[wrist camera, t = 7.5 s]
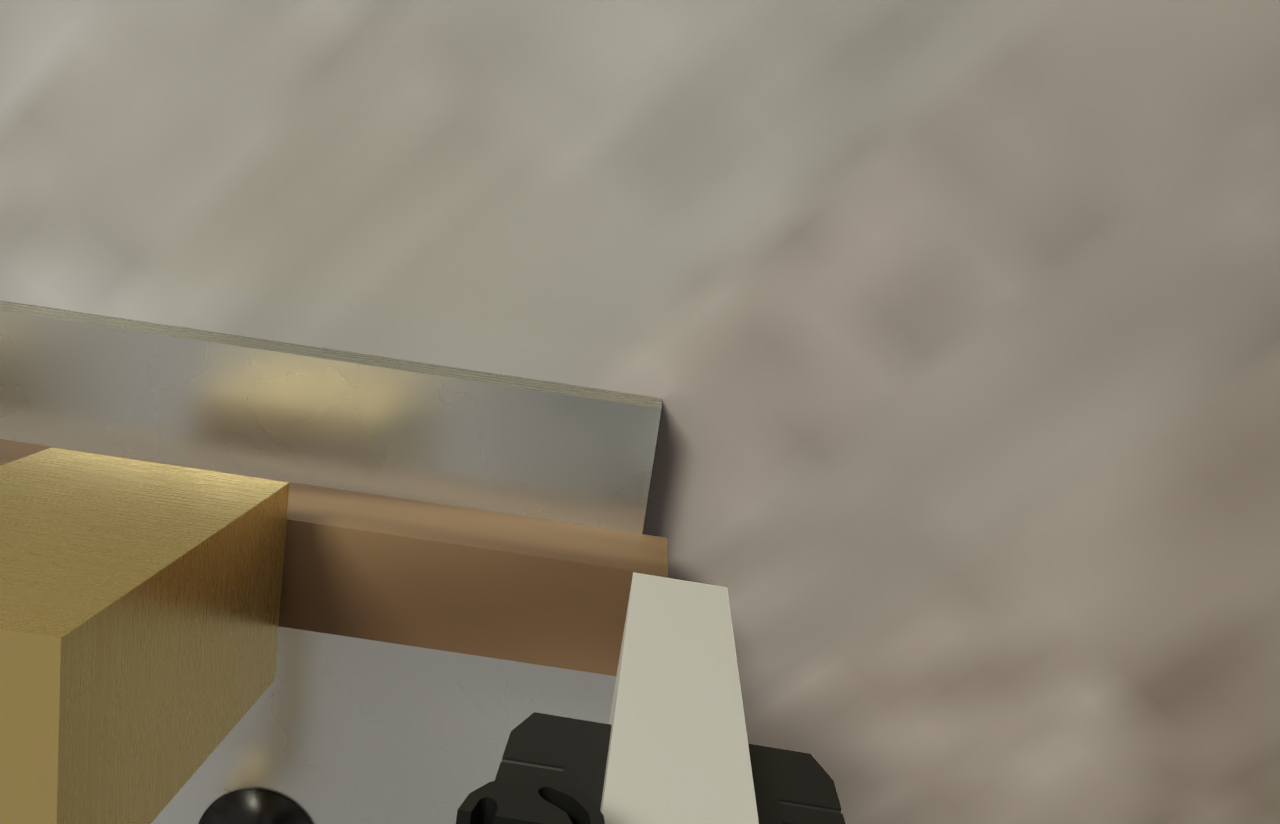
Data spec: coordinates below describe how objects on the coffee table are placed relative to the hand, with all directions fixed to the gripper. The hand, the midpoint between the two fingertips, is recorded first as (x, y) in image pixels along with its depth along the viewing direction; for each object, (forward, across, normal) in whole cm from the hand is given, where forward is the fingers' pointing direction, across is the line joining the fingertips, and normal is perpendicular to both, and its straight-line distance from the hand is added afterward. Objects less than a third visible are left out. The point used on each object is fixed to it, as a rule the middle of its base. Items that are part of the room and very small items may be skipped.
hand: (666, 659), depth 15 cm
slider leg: (+3, -9, -3) cm, 10 cm away
